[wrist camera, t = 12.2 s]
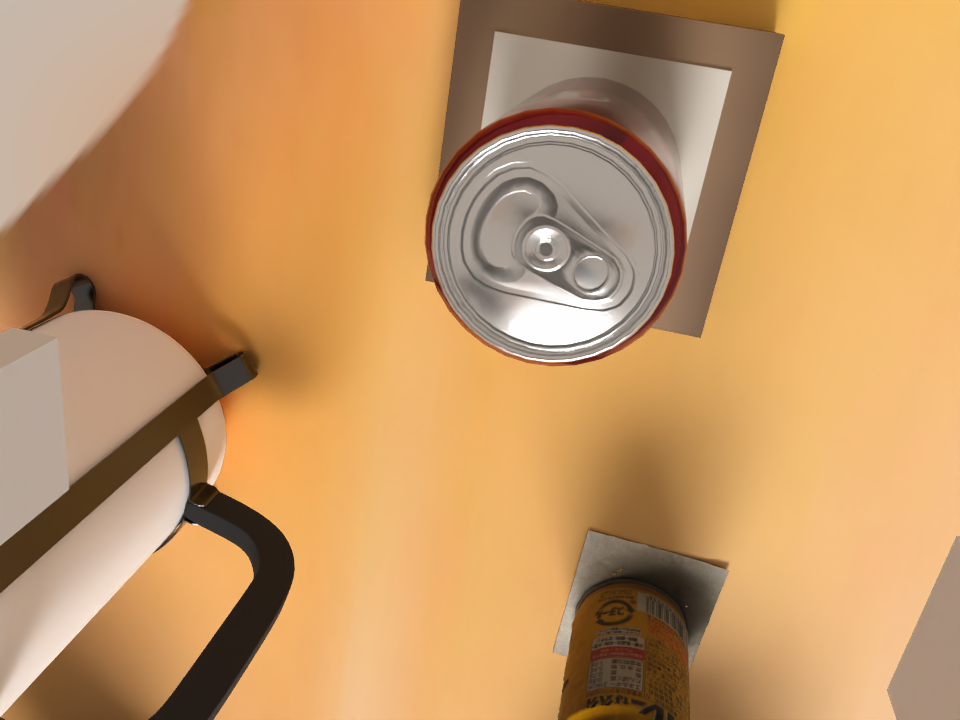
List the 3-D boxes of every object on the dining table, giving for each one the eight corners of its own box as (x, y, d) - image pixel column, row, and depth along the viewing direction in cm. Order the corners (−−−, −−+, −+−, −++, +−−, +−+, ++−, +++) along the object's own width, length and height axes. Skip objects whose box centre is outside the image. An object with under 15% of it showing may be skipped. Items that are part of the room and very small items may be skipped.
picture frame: (441, 261, 39) (424, 281, 37) (478, -16, 34) (462, -18, 32) (697, 314, 38) (700, 338, 35) (774, 32, 33) (785, 34, 30)
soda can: (463, 195, 35) (373, 281, 24) (561, 36, 32) (508, 52, 21) (608, 293, 35) (584, 421, 24) (719, 145, 32) (747, 216, 21)
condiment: (553, 650, 47) (519, 843, 36) (588, 527, 44) (563, 701, 33) (681, 687, 46) (687, 896, 35) (728, 566, 43) (750, 756, 32)
